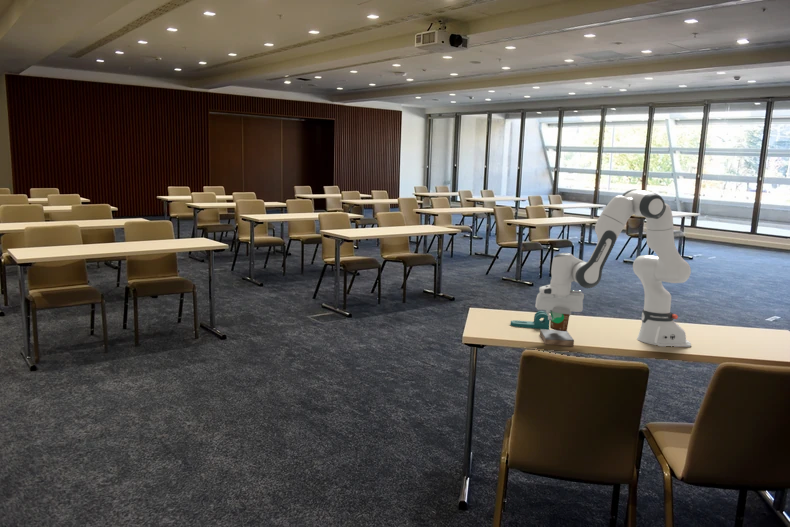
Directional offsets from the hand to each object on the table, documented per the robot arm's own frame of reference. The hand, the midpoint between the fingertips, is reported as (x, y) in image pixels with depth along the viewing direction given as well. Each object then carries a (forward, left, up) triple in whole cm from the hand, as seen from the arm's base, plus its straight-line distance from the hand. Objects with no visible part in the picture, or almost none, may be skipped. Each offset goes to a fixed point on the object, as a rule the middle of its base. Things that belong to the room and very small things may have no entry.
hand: (557, 320), depth 269 cm
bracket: (+9, -24, -10) cm, 27 cm away
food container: (+1, 0, -4) cm, 4 cm away
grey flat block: (0, 0, -9) cm, 9 cm away
